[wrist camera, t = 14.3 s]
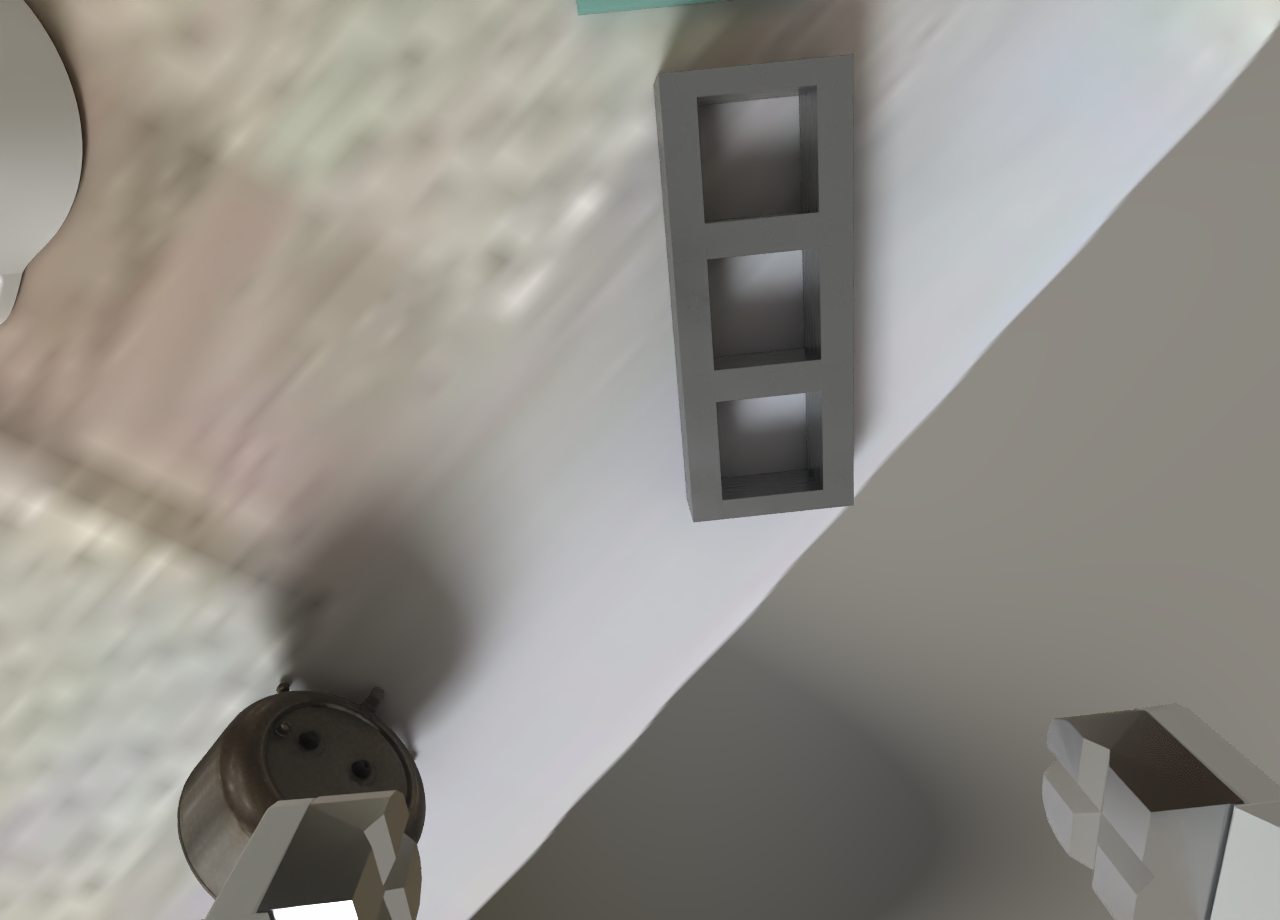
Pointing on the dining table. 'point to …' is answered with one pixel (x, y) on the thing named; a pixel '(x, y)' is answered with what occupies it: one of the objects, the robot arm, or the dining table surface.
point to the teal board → (629, 5)
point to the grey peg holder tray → (812, 231)
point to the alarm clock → (288, 772)
